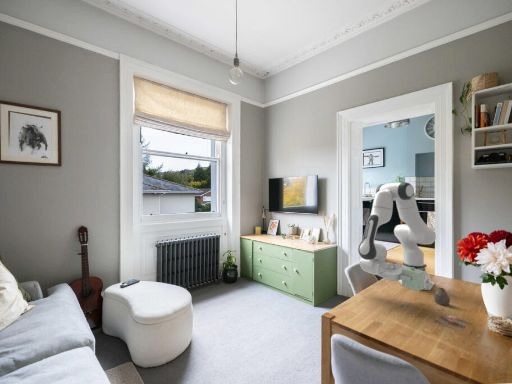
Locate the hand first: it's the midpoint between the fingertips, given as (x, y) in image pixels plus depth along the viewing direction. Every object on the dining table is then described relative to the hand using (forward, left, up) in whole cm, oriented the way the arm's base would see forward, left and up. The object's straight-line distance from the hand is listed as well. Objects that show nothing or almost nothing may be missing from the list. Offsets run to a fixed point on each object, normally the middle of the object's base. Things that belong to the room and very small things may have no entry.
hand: (414, 277), depth 128 cm
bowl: (0, +16, -16) cm, 22 cm away
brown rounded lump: (-19, +5, -17) cm, 26 cm away
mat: (0, -1, -17) cm, 17 cm away
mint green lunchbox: (0, -1, -5) cm, 5 cm away
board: (0, +16, -17) cm, 23 cm away
